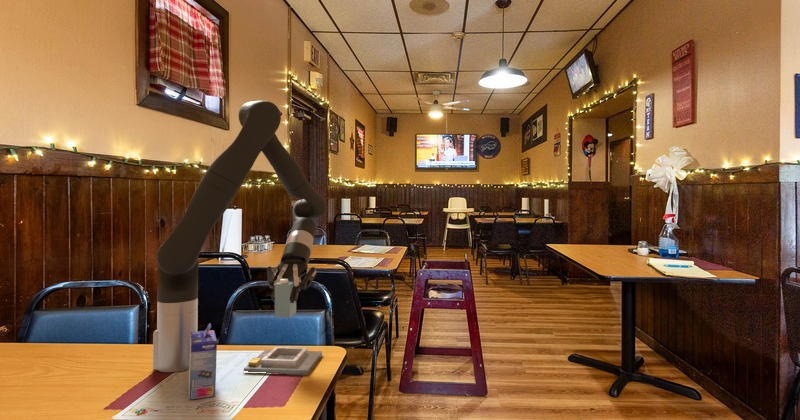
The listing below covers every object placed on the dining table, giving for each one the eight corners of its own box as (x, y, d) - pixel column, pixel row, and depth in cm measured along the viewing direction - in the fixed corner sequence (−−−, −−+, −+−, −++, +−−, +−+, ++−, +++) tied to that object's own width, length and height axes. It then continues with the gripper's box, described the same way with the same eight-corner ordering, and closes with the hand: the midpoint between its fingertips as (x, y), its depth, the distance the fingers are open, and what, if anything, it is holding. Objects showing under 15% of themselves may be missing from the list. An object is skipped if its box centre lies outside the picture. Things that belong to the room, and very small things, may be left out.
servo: (274, 317, 107) (274, 280, 107) (281, 312, 112) (281, 277, 112) (289, 317, 107) (289, 280, 107) (296, 312, 112) (296, 277, 112)
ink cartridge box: (217, 396, 90) (217, 329, 90) (188, 401, 88) (189, 333, 88) (214, 379, 99) (214, 319, 99) (188, 384, 96) (188, 321, 96)
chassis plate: (243, 373, 103) (243, 362, 103) (266, 353, 117) (266, 344, 117) (307, 375, 102) (307, 364, 102) (322, 355, 116) (322, 345, 116)
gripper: (270, 240, 117) (251, 292, 105) (320, 241, 116) (307, 293, 104) (277, 257, 123) (260, 308, 111) (324, 257, 122) (313, 309, 109)
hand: (283, 300), depth 107 cm, fingers closed on servo, 4 cm apart
